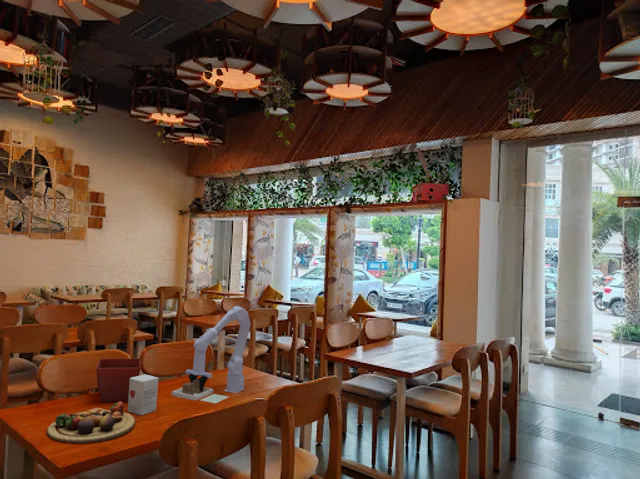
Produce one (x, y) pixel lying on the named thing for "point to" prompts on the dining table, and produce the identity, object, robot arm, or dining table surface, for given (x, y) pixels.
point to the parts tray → (192, 397)
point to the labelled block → (197, 386)
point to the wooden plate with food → (91, 425)
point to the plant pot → (116, 378)
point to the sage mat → (214, 398)
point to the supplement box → (142, 394)
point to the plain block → (188, 388)
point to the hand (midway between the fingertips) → (197, 389)
